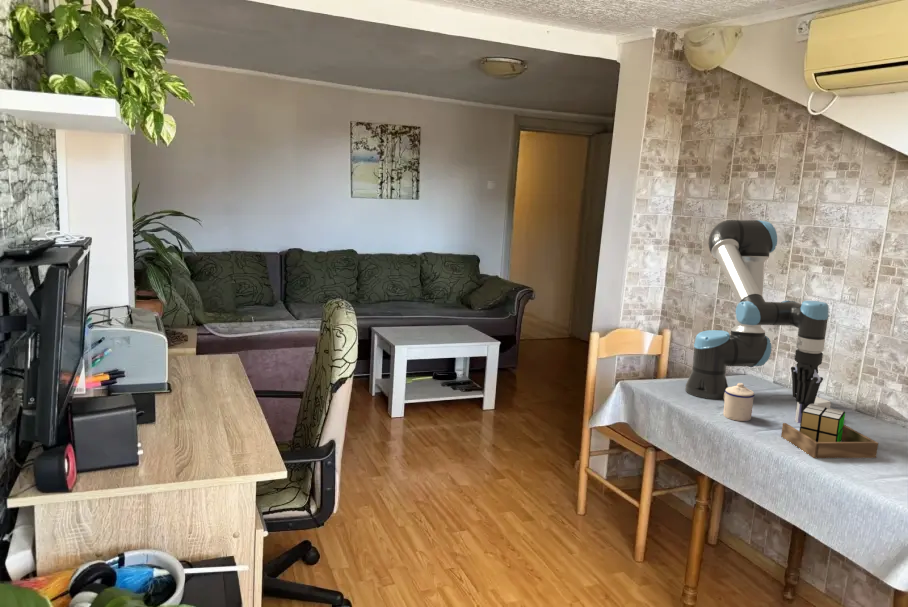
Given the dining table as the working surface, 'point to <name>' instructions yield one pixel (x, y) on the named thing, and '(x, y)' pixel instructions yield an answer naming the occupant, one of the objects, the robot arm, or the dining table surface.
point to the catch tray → (833, 444)
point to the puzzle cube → (822, 423)
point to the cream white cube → (822, 402)
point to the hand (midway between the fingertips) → (800, 422)
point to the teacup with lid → (738, 403)
